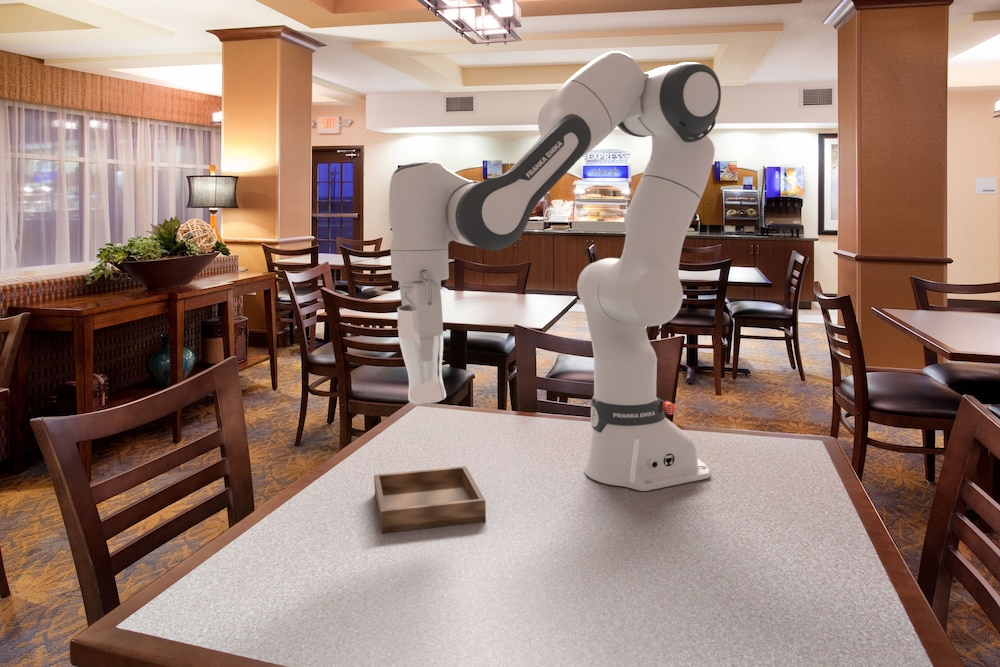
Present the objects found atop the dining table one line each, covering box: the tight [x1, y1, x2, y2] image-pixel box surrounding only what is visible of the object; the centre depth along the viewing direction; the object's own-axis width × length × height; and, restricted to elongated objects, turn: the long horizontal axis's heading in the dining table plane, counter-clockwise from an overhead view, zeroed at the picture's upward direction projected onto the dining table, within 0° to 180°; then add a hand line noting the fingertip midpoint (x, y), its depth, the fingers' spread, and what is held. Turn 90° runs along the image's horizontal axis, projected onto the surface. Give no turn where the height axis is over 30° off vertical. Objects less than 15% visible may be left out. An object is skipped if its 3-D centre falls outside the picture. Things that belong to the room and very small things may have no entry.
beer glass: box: [396, 303, 447, 405], centre depth 114 cm, size 7×7×15 cm
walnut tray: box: [373, 465, 487, 534], centre depth 118 cm, size 16×16×4 cm
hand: (423, 355), depth 114 cm, fingers closed on beer glass, 6 cm apart
